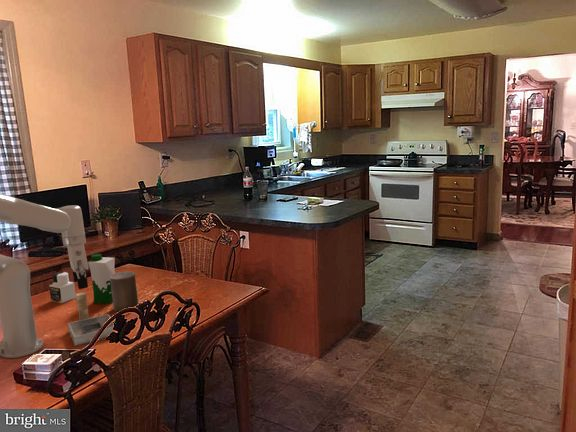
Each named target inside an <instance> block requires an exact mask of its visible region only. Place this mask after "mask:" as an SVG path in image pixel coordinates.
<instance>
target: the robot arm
mask: <svg viewBox="0 0 576 432" xmlns="http://www.w3.org/2000/svg"><path fill="white" fill-rule="evenodd" d="M0 223H3V224H4V223H6V224H10V225H17V226H24V227H25V226H26V227H29V228H30V227H31V228H36V229H38V230H41V231H44V232H45V231H46V232H50V233H57V234H60V233H61V238H62V239H61V240H62V244H63V245H62V246H64V247H67V253H68V254H67V255H68V260H69V264H70V267H71V269H72V275H73V281H74V282H73V283H75V282H77V287H78V290H83V289H86V288H87V289H88V288H89V283H88V277H87V274H86V273H87V272H86V271H88V270H90V268H89V265H88V259H87V253H86V249H85V248H86V247H85V245H84V244H86V243H87V239H86V231H85V226H84V218H83V212H82V208H81V206H79V205H75V204H74V205H73V204H72V205H65V206H61V207H56V208H52V207H50V206H45V205H42V204H37V203H34V202H32V201H31V202H30V201H27V200H25V199H20V198H18V197H14V196H10V195H7V194H3V193H0ZM31 296H32V295H31V271H30V268H29V267H28V265H27V264H26V263H25V262H24V261H23V260H21V259H19V258H16V257H12V256H8V255H7V256H6V255H3V254H1V253H0V326H1V327H0V328H1V333H2V338H1V339H2V340H0V356H1V357H2V358H3V359H4V358H5V359H16V358H22V357H23V358H24V357H26V356H29V355H32V354H34V353H36V352H38V351H40V350H41V349H42V348H43V346H44V341H43V339H41V338H40V337H38V334H37V328H36V322H35V316H34V308H33V302H32V297H31Z"/></svg>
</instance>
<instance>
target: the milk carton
mask: <svg viewBox="0 0 576 432" xmlns="http://www.w3.org/2000/svg"><path fill="white" fill-rule="evenodd" d="M115 260H116V258H115V257H109V256H107V257H103V256H102V254H101V253H94V254H92V255H91V260H89V261H87V263H88V268H89V270H90V275H91V283H92V289H93V290H92V291H93V293H92V294H93V304H108V305H110V303H113V299H112V290H111V282H110V276H111V275H113V274H116V272H115V271H116V270H115Z"/></svg>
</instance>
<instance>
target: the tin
mask: <svg viewBox="0 0 576 432" xmlns="http://www.w3.org/2000/svg"><path fill="white" fill-rule="evenodd" d="M110 317H111V315H110V314H109V313H107V314H101V315H96V316H92V317H89V318H88V319H84V320H75V321H71V322H68V323H67V328H68V334H69V336H70V338H71V340H72V343H73V345H74V347H75V348H76V347H81V346H84V345H88V344H90V343H89V342H90V341H91V339H92V338H93V337H94V335H95V334H96V333H97V331H98V330H99V329H100V328H101V327H102V326H103V324H104V323H105V322H106V321H107V320H108V319H109V318H110ZM114 323H115V322H114ZM114 323H113V322H112V323H111V324H110V325H109V326H108V327H107V328H106V329H105V331H104V332H103V333H102V335H101V336H100V338H99V340H100V341H103V340H102V339H104V340H106V339H105V338H106V337H107V336H108V335H109V334H110V333H112V332H115V331H113V324H114Z"/></svg>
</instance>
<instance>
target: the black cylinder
mask: <svg viewBox="0 0 576 432" xmlns="http://www.w3.org/2000/svg"><path fill="white" fill-rule="evenodd" d="M75 295H76V298H75V299H76V305H77V311H78V319H79V320H84V319H88V318H90V315H89V314H90V313H89V307H88V299H87V293H86V292H85V291H82V292H79V293H75ZM79 320H78V321H79Z"/></svg>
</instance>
